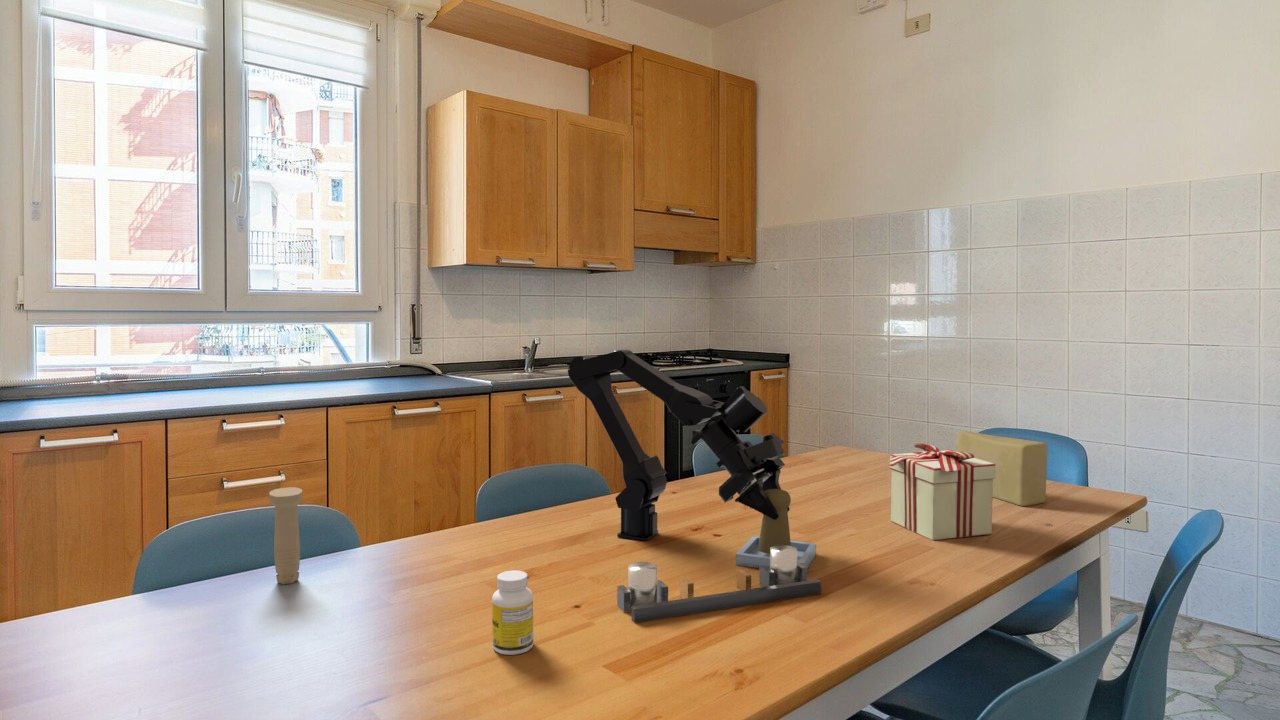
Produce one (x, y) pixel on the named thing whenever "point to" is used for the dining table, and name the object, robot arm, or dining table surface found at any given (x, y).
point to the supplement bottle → (512, 614)
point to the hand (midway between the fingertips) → (782, 514)
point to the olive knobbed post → (775, 522)
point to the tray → (756, 558)
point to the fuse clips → (776, 585)
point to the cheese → (1010, 465)
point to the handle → (286, 533)
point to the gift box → (942, 493)
